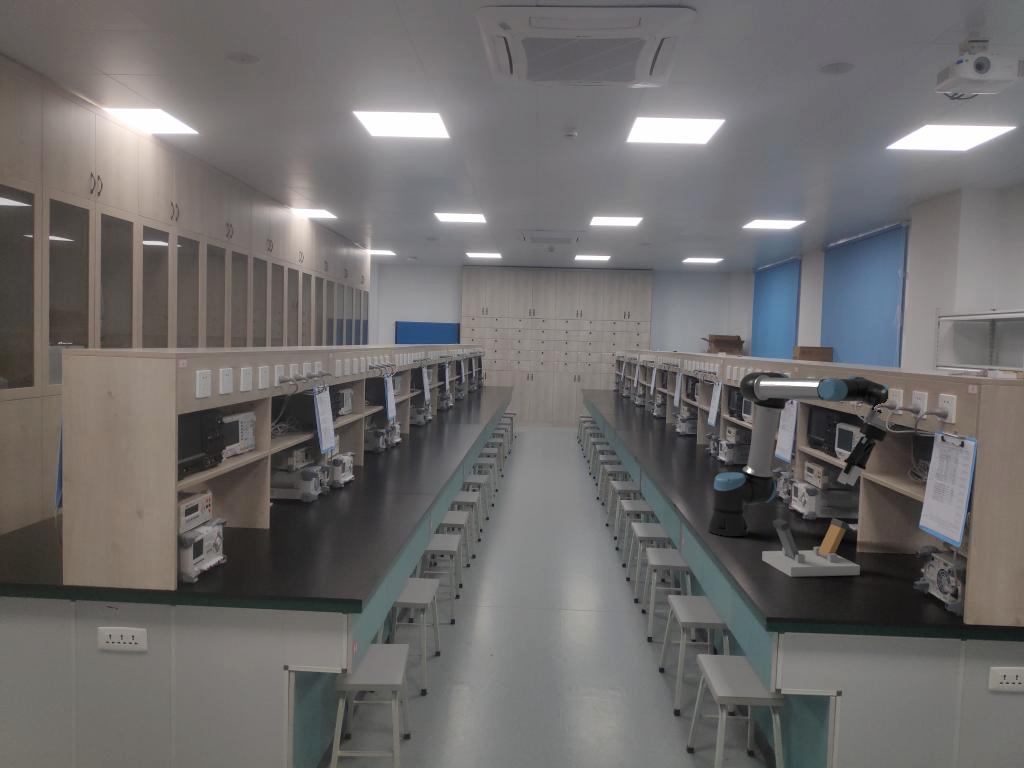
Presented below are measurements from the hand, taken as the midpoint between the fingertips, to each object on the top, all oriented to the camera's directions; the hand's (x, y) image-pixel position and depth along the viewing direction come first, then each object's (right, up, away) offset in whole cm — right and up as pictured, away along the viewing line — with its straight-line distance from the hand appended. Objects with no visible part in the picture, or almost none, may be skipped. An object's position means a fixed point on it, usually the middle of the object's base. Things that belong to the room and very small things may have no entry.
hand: (845, 483), depth 214 cm
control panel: (-12, -28, -1) cm, 30 cm away
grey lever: (-18, -24, -2) cm, 30 cm away
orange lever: (-7, -24, 0) cm, 25 cm away
